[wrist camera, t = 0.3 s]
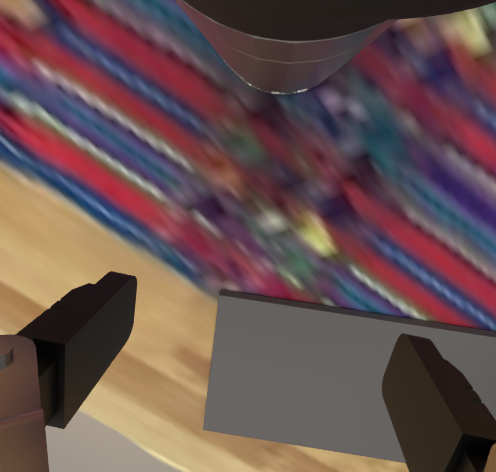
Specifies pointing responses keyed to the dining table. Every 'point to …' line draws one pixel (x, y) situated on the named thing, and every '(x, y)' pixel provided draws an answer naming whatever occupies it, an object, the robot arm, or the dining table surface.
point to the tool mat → (323, 372)
